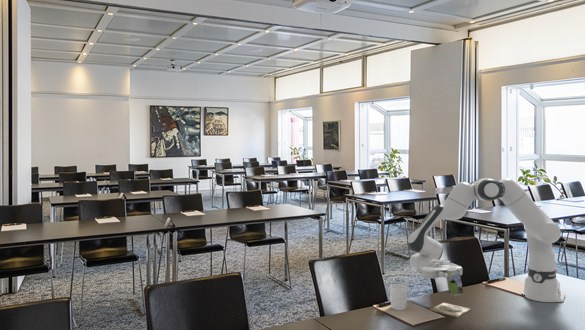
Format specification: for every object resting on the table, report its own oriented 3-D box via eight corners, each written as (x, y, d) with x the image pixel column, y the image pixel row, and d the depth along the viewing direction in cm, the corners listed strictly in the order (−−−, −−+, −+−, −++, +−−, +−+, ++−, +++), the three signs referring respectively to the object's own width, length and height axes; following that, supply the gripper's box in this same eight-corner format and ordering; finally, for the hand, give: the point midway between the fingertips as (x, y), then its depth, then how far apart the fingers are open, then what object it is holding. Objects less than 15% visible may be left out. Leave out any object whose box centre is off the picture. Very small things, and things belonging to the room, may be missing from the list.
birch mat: (444, 303, 226) (444, 302, 226) (470, 310, 216) (470, 308, 216) (430, 310, 216) (430, 309, 216) (457, 317, 207) (457, 315, 207)
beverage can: (464, 296, 214) (464, 270, 213) (448, 296, 215) (447, 270, 214) (460, 291, 221) (460, 266, 219) (444, 291, 221) (444, 266, 220)
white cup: (408, 306, 222) (408, 285, 222) (405, 311, 215) (405, 289, 215) (391, 304, 225) (391, 283, 225) (387, 309, 218) (387, 287, 218)
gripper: (414, 263, 225) (431, 270, 212) (451, 260, 231) (470, 266, 218) (414, 277, 225) (431, 284, 212) (451, 273, 232) (470, 280, 219)
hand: (451, 275), depth 215 cm, fingers closed on beverage can, 3 cm apart
